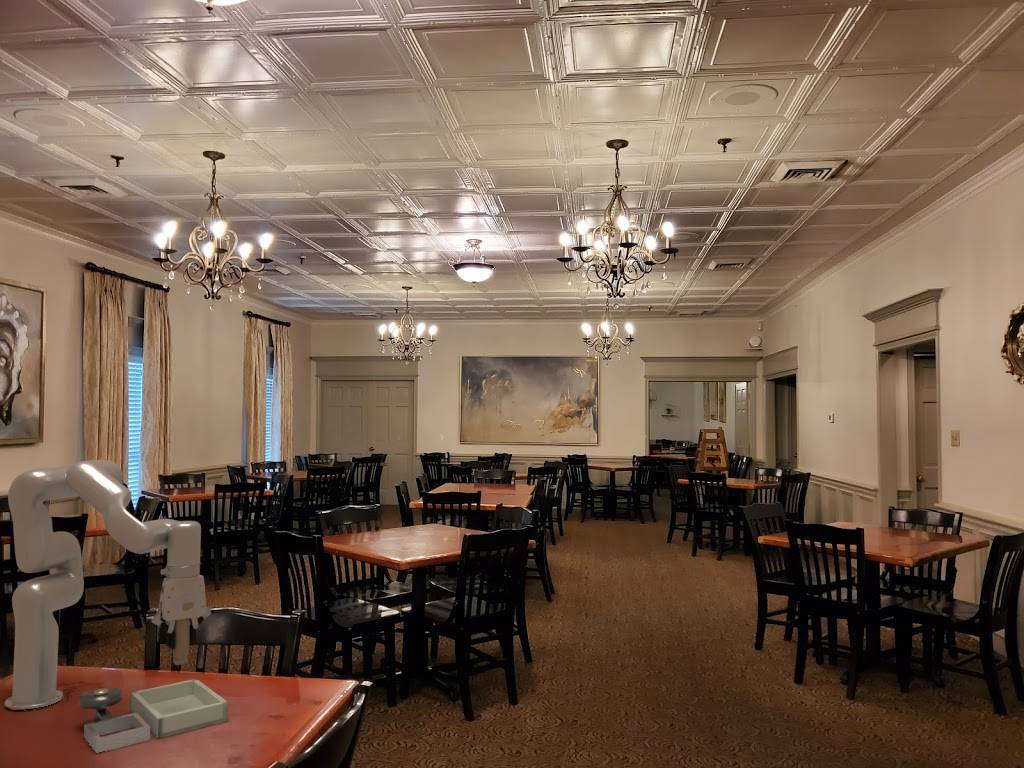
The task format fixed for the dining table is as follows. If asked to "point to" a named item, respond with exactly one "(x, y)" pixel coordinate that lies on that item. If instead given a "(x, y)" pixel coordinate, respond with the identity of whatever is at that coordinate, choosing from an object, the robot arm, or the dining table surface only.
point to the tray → (179, 707)
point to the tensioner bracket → (111, 722)
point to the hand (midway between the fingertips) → (180, 645)
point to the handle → (182, 638)
